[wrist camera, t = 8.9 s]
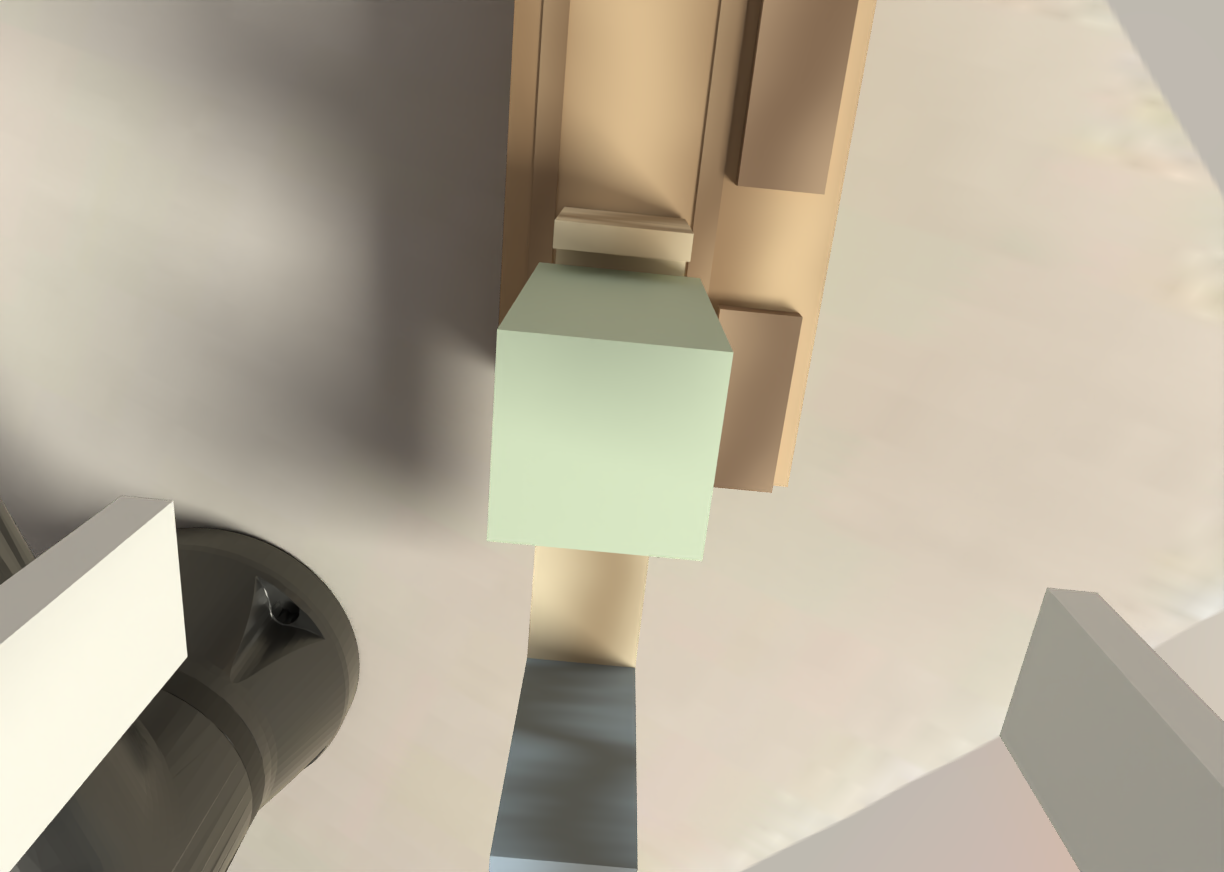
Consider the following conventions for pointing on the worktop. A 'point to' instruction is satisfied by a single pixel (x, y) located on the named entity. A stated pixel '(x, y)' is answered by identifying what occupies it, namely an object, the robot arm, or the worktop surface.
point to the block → (607, 413)
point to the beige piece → (583, 641)
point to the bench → (698, 168)
